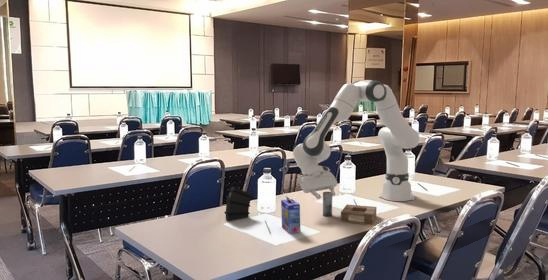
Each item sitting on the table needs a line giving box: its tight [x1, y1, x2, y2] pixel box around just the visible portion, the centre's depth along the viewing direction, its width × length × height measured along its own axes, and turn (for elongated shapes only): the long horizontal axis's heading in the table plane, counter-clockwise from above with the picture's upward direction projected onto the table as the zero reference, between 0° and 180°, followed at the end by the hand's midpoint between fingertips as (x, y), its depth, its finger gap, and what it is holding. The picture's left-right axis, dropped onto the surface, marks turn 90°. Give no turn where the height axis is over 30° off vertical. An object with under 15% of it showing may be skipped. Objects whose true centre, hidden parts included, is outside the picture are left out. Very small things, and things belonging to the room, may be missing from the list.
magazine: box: [224, 186, 254, 222], centre depth 211 cm, size 4×13×15 cm, turn 122°
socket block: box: [340, 204, 377, 226], centre depth 208 cm, size 14×14×4 cm
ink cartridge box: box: [280, 196, 301, 234], centre depth 193 cm, size 10×6×14 cm, turn 18°
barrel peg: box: [322, 191, 333, 218], centre depth 214 cm, size 4×4×11 cm
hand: (326, 196), depth 214 cm, fingers open, 8 cm apart
